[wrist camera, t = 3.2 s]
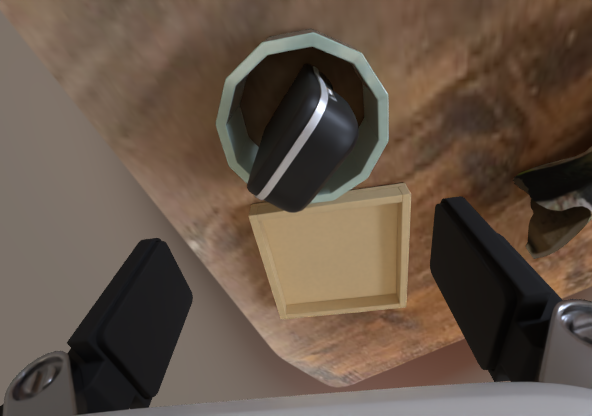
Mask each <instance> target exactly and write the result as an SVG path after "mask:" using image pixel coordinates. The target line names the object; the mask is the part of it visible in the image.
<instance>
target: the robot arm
mask: <svg viewBox="0 0 592 416" xmlns="http://www.w3.org/2000/svg"><path fill="white" fill-rule="evenodd" d="M430 269H431V273H432V275H433V277H434V279H435V281H436V283H437V285H438V287H439V289H440V291H441V293H442V295H443V297H444V299H445V300H446V302H447V304H448V306H449V308H450V310H451V312H452V314H453V316H454V318H455V320H456V322H457V323H458V325H459V327H460V329H461V331H462V333H463V335H464V337H465V339H466V340H467V343H468V345H469V346H470V348H471V350H472V352H473V354H474V356H475V358H476V360H477V362H478V364H479V365H480V367H481V368H482V369H483V370H488V371H489V373H490V375H491V376H492V378H493V380H494V382H489V383H470V384H452V385H434V386H419V387H406V388H392V389H379V390H366V391H353V392H352V391H351V392H337V393H325V394H311V395H298V396H287V397H286V396H285V397H273V398H260V399H247V400H235V401H222V402H211V403H198V404H186V405H175V406H163V407H151V408H149V405H150V402H151V400H152V397H154V396H156V394H157V393H158V391H159V388H160V386H161V383H162V380H163V378H164V375H165V373H166V370H167V367H168V365H169V362H170V359H171V357H172V354H173V351H174V349H175V346H176V343H177V341H178V338H179V335H180V333H181V330H182V328H183V325H184V322H185V320H186V317H187V314H188V312H189V309H190V306H191V304H192V299H193V297H192V292H191V290H190V288H189V286H188V284H187V282H186V280H185V278H184V276H183V274H182V272H181V270H180V269H179V267H178V265H177V263H176V261H175V259H174V257H173V255H172V253H171V251H170V249H169V247H168V245H167V244H166V242H164V241H161V239H159V238H153V239H145V240H141V241H140V242H139V243H138V244H137V246H136V247H135V249H134V250H133V251H132V253H131V254H130V255H129V257H128V258H127V260H126V261H125V262H124V264H123V265H122V267H121V268H120V269H119V271H118V272H117V274H116V275H115V276H114V278H113V279H112V281H111V282H110V283H109V285H108V286H107V287H106V289H105V290H104V292H103V293H102V295H101V296H100V297H99V299H98V300H97V301H96V303H95V304H94V306H93V307H92V308H91V310H90V311H89V313H88V314H87V315H86V317H85V318H84V320H83V321H82V322H81V324H80V325H79V327H78V328H77V329H76V331H75V332H74V334H73V335H72V336H71V338H70V339H69V341H68V342H67V343H68V345H69V346H70V347H71V349H70V351H69V352H68V353H65V352H63V351H54V352H51V353H48V354H45V355H43V356H41V357H39V358H37V359H36V360H35V361H33V362H32V363H30V364H29V365H27V366H26V367H25V368H24V369H23V370H22V371H21V372H20V373H19V374H18V375H17V376H16V377H15V378H14V379H13V381H12V382H11V383H10V385H9V387H8V389H7V391H6V393H5V397H4V404H3V405H2V406H0V416H592V302H591V301H587V300H581V299H570V300H562V299H561V298H560V297H559V296H558V295H557V294H556V293H555V291H554V290H553V289H552V288H551V287H550V286H549V285H548V284H547V283H546V282H545V281H544V280H543V279H542V278H541V277H540V275H539V274H538V273H537V272H536V271H535V270H534V269H533V268H532V267H531V266H530V265H529V264H528V263H527V262H526V261H525V260H524V258H523V257H522V256H521V255H520V254H519V253H518V252H517V251H516V250H515V249H514V248H513V247H512V246H511V245H510V244H509V242H508V241H507V240H506V239H505V238H504V237H503V236H501V235H500V234H498V233H496V232H495V231H494V230H493V229H492V228H491V227H490V225H489V224H488V223H487V222H486V221H485V220H484V219H483V218H482V217H481V216H480V215H479V214H478V212H477V211H476V210H475V209H474V208H473V207H472V206H471V205H470V204H469V203H468V202H467V201H466V199H465V198H463V197H461V196H460V197H452V198H445V199H442V201H441V204H437V205H436V207H435V216H434V227H433V238H432V248H431V259H430ZM500 381H511V382H500ZM129 408H130V409H129Z"/></svg>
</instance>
